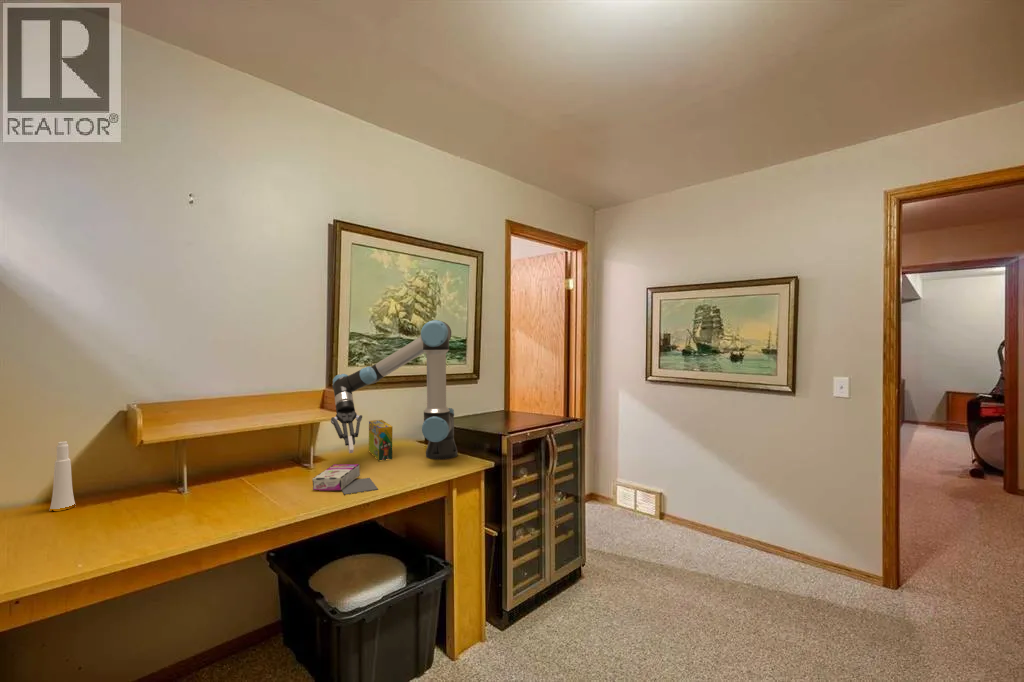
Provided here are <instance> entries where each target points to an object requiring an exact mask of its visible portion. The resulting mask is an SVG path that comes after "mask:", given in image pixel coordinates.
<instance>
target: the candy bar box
mask: <svg viewBox="0 0 1024 682" xmlns="http://www.w3.org/2000/svg"><path fill="white" fill-rule="evenodd" d="M360 476H361V472H360V464H359V463H357V464H356V463H355V464H353V463H352V464H351V463H350V464H346V463H345V464H343V463H342V464H341V463H340V464H332V465H331V466H329V467H328V468H326V469H325V470H324V471H321V472H320V473H318V474H317V475H316V476H314V477H313V478H311V479H312V491H313V490H319V491H342V489H343V488H344V487H346V486H347V485H348V484H349V483H351V482H352V481H353V480H357V478H358V477H360Z"/></svg>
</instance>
